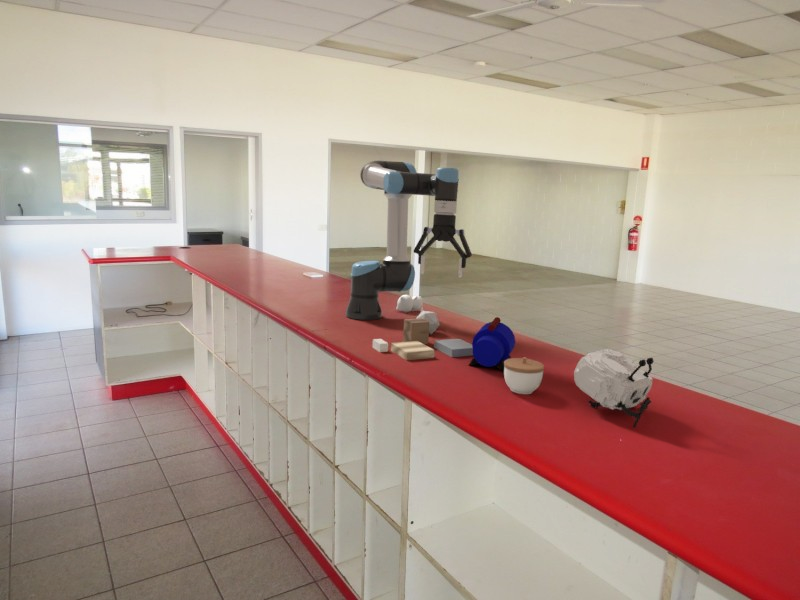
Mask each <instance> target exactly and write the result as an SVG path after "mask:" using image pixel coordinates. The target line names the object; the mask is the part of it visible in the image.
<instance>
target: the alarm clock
mask: <svg viewBox="0 0 800 600" xmlns="http://www.w3.org/2000/svg"><path fill="white" fill-rule="evenodd" d="M501 321H502V319H501V318H500V317H498V316H496V317H495V318H494V319H493V320H492V321H490V322H488V323H485V324H484V325H483V326H481V328H480V329H479V330H478V331H477V332H476V333H475V335H474V337H473V338H472V343H471V344H472V347H473V355H472V356H473V358H472V359H471V361H470V363H468V365H467V366H474V365H477V364H479V365H481V366H483V367H489V368H491V367H494V366H495V367H497V369H500V370H501V371H503V372H504V361H505V360H507V359H511V358H512V357H511V355H510V354H511V353H512V352H513V350H514V348H515V346H516V337H515V334H514V332H513V330H512V329H511V328H510V327H509V326H508V325H506V324H504V323H502V322H501Z"/></svg>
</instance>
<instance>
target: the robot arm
mask: <svg viewBox="0 0 800 600" xmlns="http://www.w3.org/2000/svg"><path fill="white" fill-rule="evenodd" d="M416 169H417V168H415V166H414V165H413V164H412V163H410V162H404V161H391V160H390V161H389V160H372V161H369V162H367V163H366V164H364V165H363V167H362V168H361V170H360V173H359V175H360V180H361V182H362V184H363V185H364V186H366V187H368V188H370V189H373V190H374V189H375V190H383V192H384V194H383V195H384V196H385V197H386V198H387V218H386V219H387V221H386V222H387V224H386V225H387V228H386V255H385V257H384V258H383V259H382V263H381V262H380V261H379V260H362V261H357V262H354V263H353V264H352V265H351V271H350V298H349V301H348V303H347V307H346V310H345V316H346V317H347V318H350V319H352V320H361V321H369V320H371V321H373V320H378V319H381V318H382V316H383V315H382V313H383V312H382V311H383V310H382V308H381V304H380V302H379V301H380V300H379V293H380V292H381V293H382V292H386V293H387V292H398V293H400V292H407V291H409V290H410V289H412V287H413V285H414V282H415V278H416V270H415V266H414V264H412V263H411V260H410V258H409V257H408V227H409V225H408V224H409V222H408V220H409V199H410V198H411V197H412V195H414V196H415V195H416V196H428V197H434V205H433V206H434V208H433V212H434V213H435V214H434V215H433V222H432V225H433V226H432V227H429V226H425V227H424V228H423V232H422V234H421V236H420V238H419V240H418V242H417V244H416V246H415V247H414V248H413V253H414V254H417V255H418V256H417V257H418V259H417V260H418V261H417V263H418V265H420V269H419V270H420V271H419V272H420V273H419V274H420V275H424V274H425V269H426V267H425V266H426V254H425V252H427V251H428V249H429V248H430V247H431V246H433V244H434V243H435V242H436V241H437V242H446V243H448V242H450V243H451V245H452V246H453V247H454V249H455V251H457V253H458V255H459V256H460V258H459V260H458V261H459V262H458V276H457V277H458V279H459V278H462V277H463V269H465V268H466V265H467V259H468V258H471V257H473V254H472V251H471V249H470V246H469V244H468V242H467V239H466V236H465V229H456V218H457V217H456V215H455V214H457V207H458V206H457V201H458V191H459V180H460V179H459V170H458V168H455V167H438V168H437V169H436V172H435V173H425V172H423V173H422V172H421V173H420V172H417V170H416ZM430 233H432V234H433V236H432V237H431V238H430V240H428V242H427V243H425V245H424V246H423V244H424V242H425V241H426V239H427V237H428V235H429V234H430ZM456 234H457V237H459V240H460V242H461V244H462V246H463V248H462V247H461V245H460V244H459V243H458V242H457V240H456V238H455V237H454V236H456ZM422 246H423V247H422ZM463 249H464V250H463Z"/></svg>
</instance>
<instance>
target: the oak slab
mask: <svg viewBox="0 0 800 600" xmlns="http://www.w3.org/2000/svg"><path fill="white" fill-rule="evenodd" d="M435 350H436V349H434V348H432V347H430V346H428V345H427V344H422V343H421V342H419V341H409V342H404V341H399V342H397V341H396V342H391V343H390V351H391V352H392V353H394V354H396V355H398V356H399V357H400V358H402V359H404V360H405V361H412V360H413V361H415V360H425V359H434V358H435Z"/></svg>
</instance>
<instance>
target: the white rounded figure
mask: <svg viewBox="0 0 800 600" xmlns="http://www.w3.org/2000/svg"><path fill="white" fill-rule="evenodd" d="M396 303H397V305H396V308H395V310H396V311H401V312H403V313H408V312H410V311H415V312H418V311H419V310H420V313H421V312H422V311H424V307H423V305H424V304H423V299H422V296H418V295H414V296H410V294H403V295H401V296H400V297H399V298H398V299H397V302H396Z"/></svg>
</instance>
